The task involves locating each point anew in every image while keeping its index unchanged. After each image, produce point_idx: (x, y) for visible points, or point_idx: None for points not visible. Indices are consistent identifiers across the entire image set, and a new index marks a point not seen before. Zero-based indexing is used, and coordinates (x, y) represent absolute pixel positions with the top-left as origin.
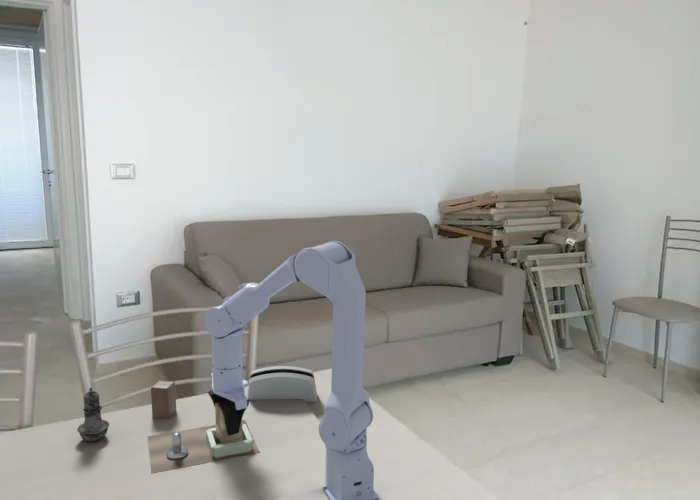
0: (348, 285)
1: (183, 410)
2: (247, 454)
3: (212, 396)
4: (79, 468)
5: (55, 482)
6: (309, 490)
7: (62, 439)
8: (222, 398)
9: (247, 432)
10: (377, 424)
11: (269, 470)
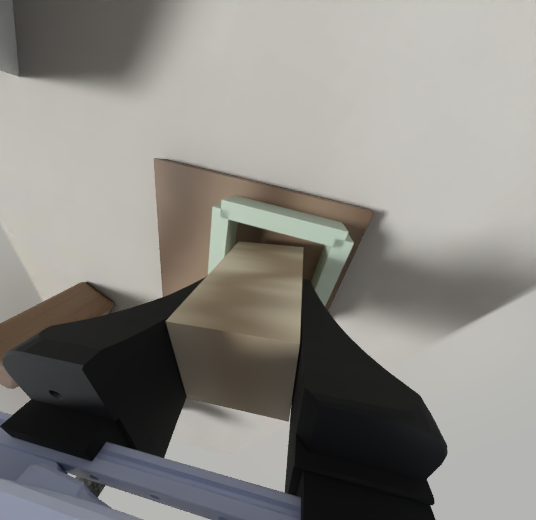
0: None
1: (65, 262)
2: (354, 248)
3: (161, 457)
4: (212, 415)
5: (231, 434)
6: None
7: None
8: (166, 391)
9: (285, 222)
10: None
11: (457, 219)
